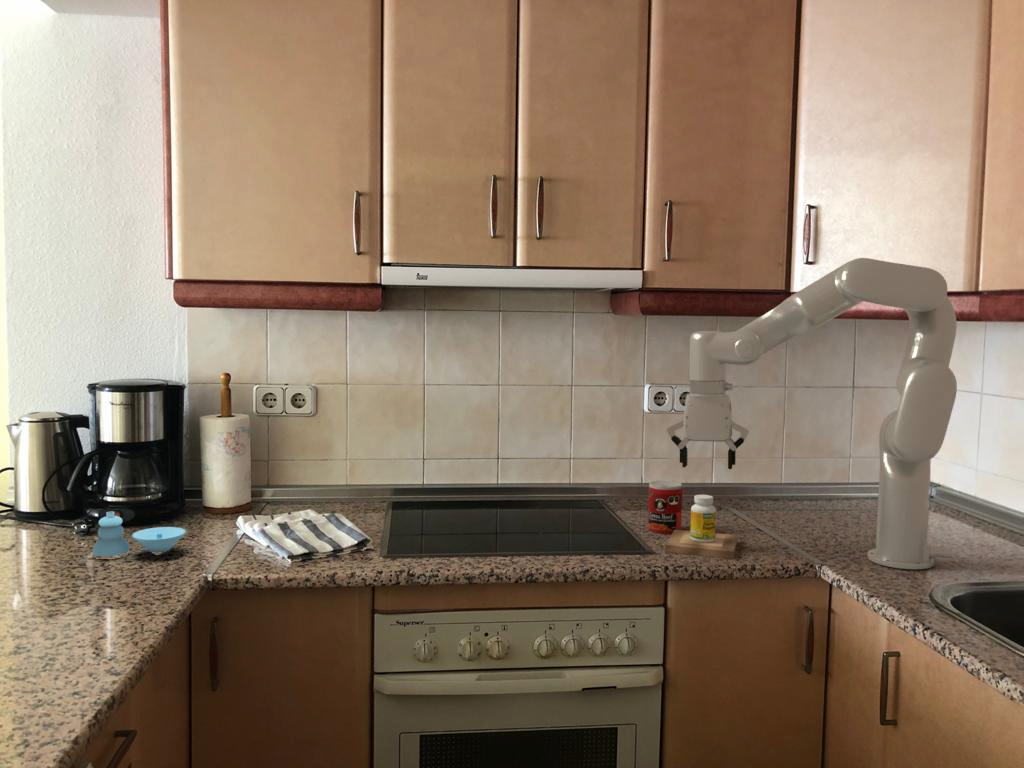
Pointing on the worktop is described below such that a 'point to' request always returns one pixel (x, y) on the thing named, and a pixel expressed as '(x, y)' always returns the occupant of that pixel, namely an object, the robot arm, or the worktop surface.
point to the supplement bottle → (703, 519)
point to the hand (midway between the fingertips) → (707, 467)
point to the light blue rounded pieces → (149, 538)
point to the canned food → (664, 506)
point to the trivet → (702, 545)
